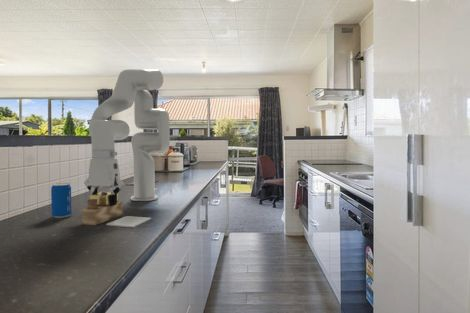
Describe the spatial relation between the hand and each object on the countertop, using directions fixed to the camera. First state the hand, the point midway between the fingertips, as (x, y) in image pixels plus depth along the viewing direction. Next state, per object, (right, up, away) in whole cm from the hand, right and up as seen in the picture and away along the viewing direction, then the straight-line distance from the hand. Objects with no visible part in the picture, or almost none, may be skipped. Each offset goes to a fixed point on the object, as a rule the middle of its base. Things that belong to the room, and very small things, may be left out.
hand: (104, 204), depth 120 cm
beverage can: (-17, -5, +3) cm, 18 cm away
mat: (+10, -6, -4) cm, 12 cm away
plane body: (0, -5, 0) cm, 5 cm away
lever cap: (0, +1, 0) cm, 1 cm away
